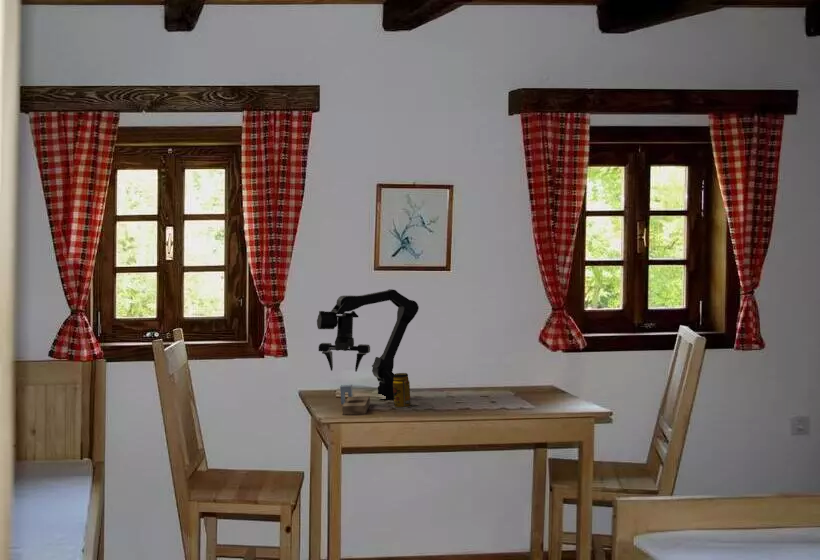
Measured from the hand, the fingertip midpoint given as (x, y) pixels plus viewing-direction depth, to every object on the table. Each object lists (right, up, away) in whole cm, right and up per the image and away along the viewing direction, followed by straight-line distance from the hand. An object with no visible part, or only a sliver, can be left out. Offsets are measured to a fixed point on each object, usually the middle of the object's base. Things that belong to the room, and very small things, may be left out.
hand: (343, 371), depth 392 cm
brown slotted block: (+6, -13, -14) cm, 19 cm away
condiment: (+23, -12, -12) cm, 28 cm away
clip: (+1, -12, 0) cm, 12 cm away
